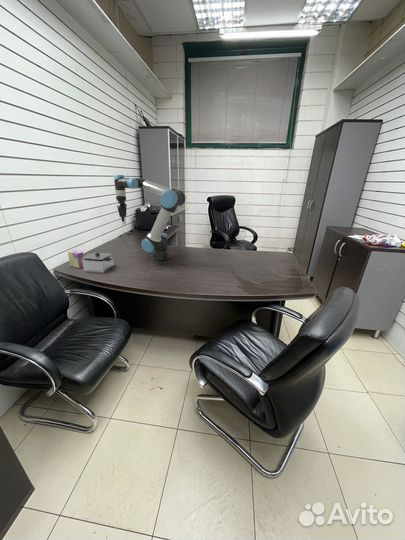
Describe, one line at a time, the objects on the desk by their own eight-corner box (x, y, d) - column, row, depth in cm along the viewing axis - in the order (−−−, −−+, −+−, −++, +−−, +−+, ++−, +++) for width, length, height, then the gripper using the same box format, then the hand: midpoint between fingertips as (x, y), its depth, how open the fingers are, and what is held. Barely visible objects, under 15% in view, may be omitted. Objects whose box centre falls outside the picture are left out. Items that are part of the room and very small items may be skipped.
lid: (112, 254, 175) (111, 251, 174) (101, 260, 161) (101, 256, 160) (94, 253, 176) (93, 250, 176) (81, 258, 162) (81, 254, 161)
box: (85, 265, 176) (83, 251, 171) (79, 268, 171) (76, 253, 166) (76, 263, 180) (74, 249, 175) (70, 265, 175) (67, 251, 170)
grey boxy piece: (116, 265, 178) (114, 255, 175) (106, 273, 164) (104, 261, 161) (93, 263, 180) (91, 253, 177) (81, 270, 167) (79, 259, 163)
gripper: (120, 194, 183) (123, 223, 192) (112, 195, 171) (116, 226, 180) (128, 195, 182) (131, 223, 191) (121, 196, 170) (124, 226, 179)
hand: (124, 224), depth 185 cm, fingers closed
